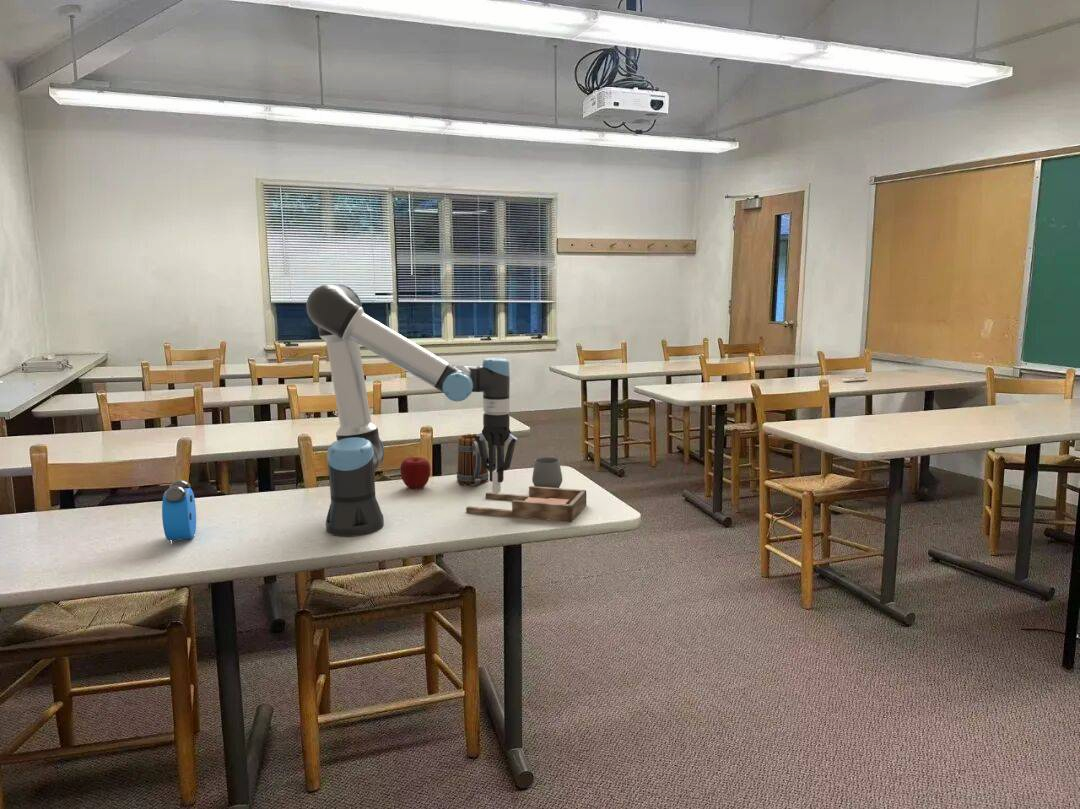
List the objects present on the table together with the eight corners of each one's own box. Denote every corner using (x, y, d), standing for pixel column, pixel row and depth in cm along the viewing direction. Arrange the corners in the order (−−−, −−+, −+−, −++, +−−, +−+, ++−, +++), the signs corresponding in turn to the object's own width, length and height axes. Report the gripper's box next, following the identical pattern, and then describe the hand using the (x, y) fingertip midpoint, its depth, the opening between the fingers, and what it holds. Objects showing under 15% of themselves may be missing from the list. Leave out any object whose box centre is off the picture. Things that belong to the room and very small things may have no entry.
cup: (529, 495, 218) (529, 463, 216) (535, 486, 227) (534, 456, 225) (560, 496, 216) (559, 464, 214) (564, 487, 225) (564, 456, 223)
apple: (418, 493, 222) (416, 462, 220) (394, 489, 227) (393, 459, 225) (437, 485, 230) (435, 455, 228) (414, 482, 235) (412, 452, 233)
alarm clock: (174, 532, 191) (167, 478, 188) (199, 529, 193) (193, 475, 190) (165, 549, 179) (158, 491, 176) (192, 545, 181) (186, 488, 178)
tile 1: (521, 513, 202) (521, 503, 201) (528, 507, 207) (528, 497, 207) (541, 515, 200) (541, 505, 199) (548, 508, 205) (548, 498, 205)
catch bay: (466, 512, 203) (465, 497, 202) (487, 496, 217) (486, 482, 216) (571, 522, 193) (571, 506, 192) (586, 505, 207) (586, 490, 206)
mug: (454, 478, 238) (452, 434, 236) (485, 475, 241) (483, 432, 239) (463, 491, 224) (461, 444, 221) (496, 487, 227) (494, 441, 224)
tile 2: (542, 514, 201) (542, 504, 200) (549, 508, 206) (549, 498, 206) (563, 516, 199) (563, 506, 198) (569, 509, 204) (569, 499, 204)
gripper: (469, 413, 201) (470, 493, 205) (513, 416, 197) (512, 498, 201) (480, 409, 208) (480, 486, 212) (522, 411, 204) (522, 491, 208)
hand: (496, 492), depth 207 cm, fingers closed
